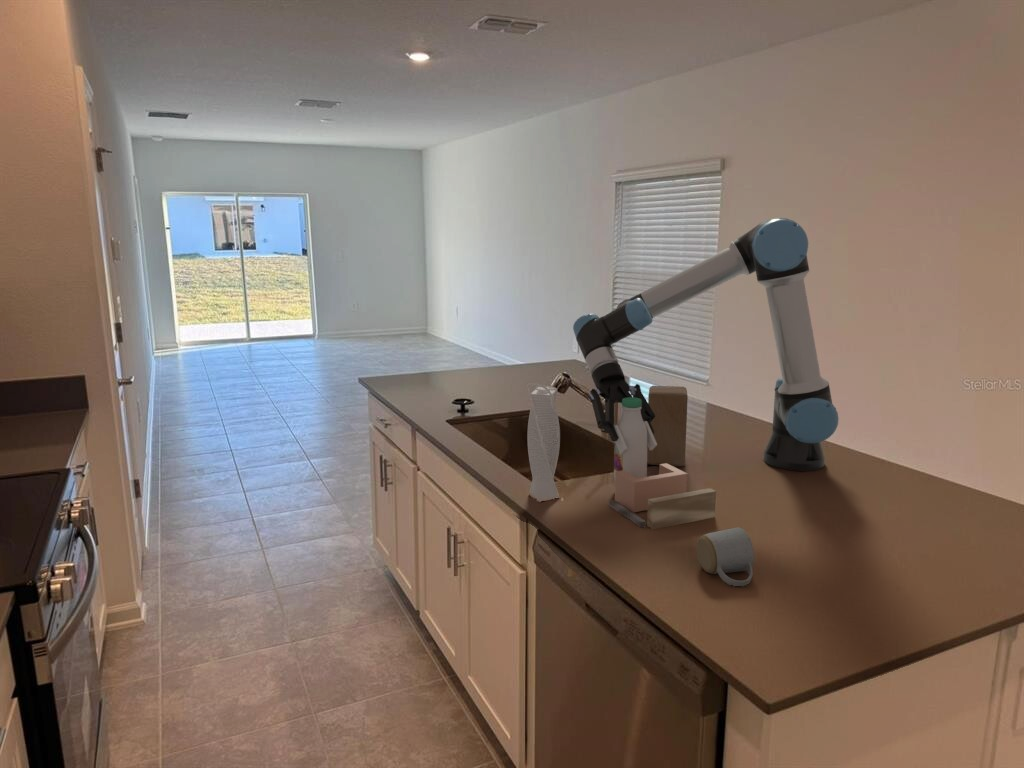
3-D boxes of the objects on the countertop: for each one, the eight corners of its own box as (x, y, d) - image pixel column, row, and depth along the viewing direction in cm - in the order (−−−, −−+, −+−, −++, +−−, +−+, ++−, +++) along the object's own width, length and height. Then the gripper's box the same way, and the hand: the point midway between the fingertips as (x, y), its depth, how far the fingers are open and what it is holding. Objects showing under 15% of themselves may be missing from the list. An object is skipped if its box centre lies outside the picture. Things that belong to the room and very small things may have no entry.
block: (684, 467, 183) (687, 394, 179) (646, 465, 185) (648, 392, 181) (684, 456, 193) (686, 385, 188) (647, 454, 195) (649, 384, 191)
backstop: (609, 505, 158) (609, 481, 157) (679, 493, 165) (680, 469, 164) (646, 530, 144) (646, 503, 143) (720, 515, 152) (722, 489, 150)
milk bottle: (648, 476, 169) (650, 396, 164) (643, 487, 162) (645, 403, 157) (617, 473, 171) (618, 394, 167) (611, 483, 164) (612, 401, 160)
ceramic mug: (692, 563, 130) (694, 525, 128) (731, 558, 132) (734, 520, 130) (722, 592, 120) (725, 551, 118) (764, 585, 122) (767, 545, 120)
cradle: (614, 500, 161) (615, 471, 159) (665, 491, 166) (666, 463, 164) (633, 512, 153) (634, 482, 152) (686, 502, 159) (687, 473, 157)
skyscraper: (536, 505, 159) (535, 386, 153) (520, 495, 165) (519, 380, 159) (565, 499, 162) (566, 382, 156) (549, 489, 169) (549, 376, 163)
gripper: (634, 374, 179) (668, 451, 168) (563, 381, 172) (595, 463, 161) (646, 357, 173) (682, 436, 162) (573, 364, 166) (606, 447, 155)
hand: (638, 449), depth 161 cm, fingers closed on milk bottle, 7 cm apart
